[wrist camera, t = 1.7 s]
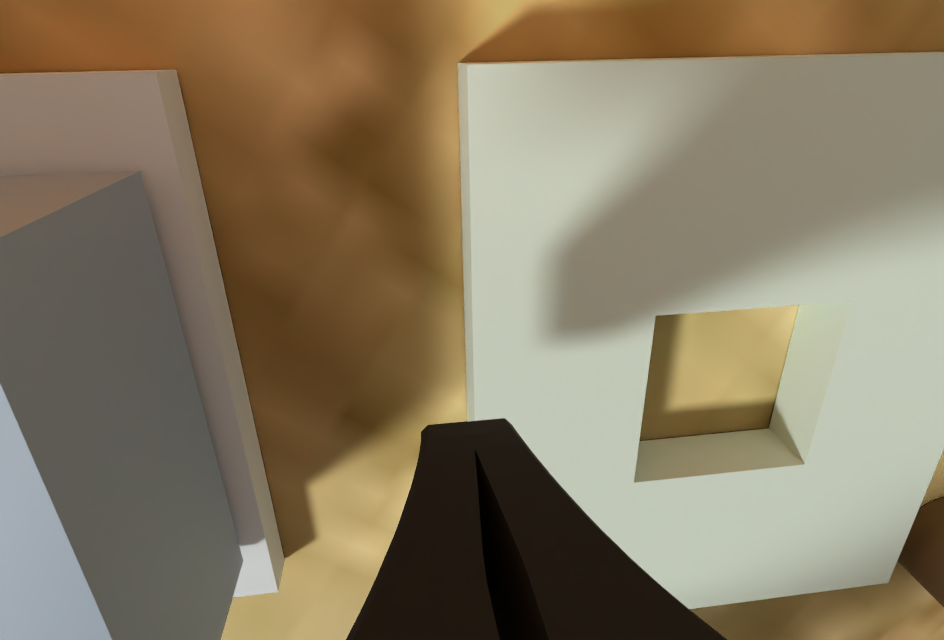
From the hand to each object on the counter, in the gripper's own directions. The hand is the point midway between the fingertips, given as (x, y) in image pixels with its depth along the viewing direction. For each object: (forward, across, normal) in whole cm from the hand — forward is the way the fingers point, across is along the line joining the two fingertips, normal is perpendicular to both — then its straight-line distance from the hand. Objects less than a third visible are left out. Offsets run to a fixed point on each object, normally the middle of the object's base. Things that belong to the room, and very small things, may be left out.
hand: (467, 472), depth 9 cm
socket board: (+4, -6, +1) cm, 8 cm away
